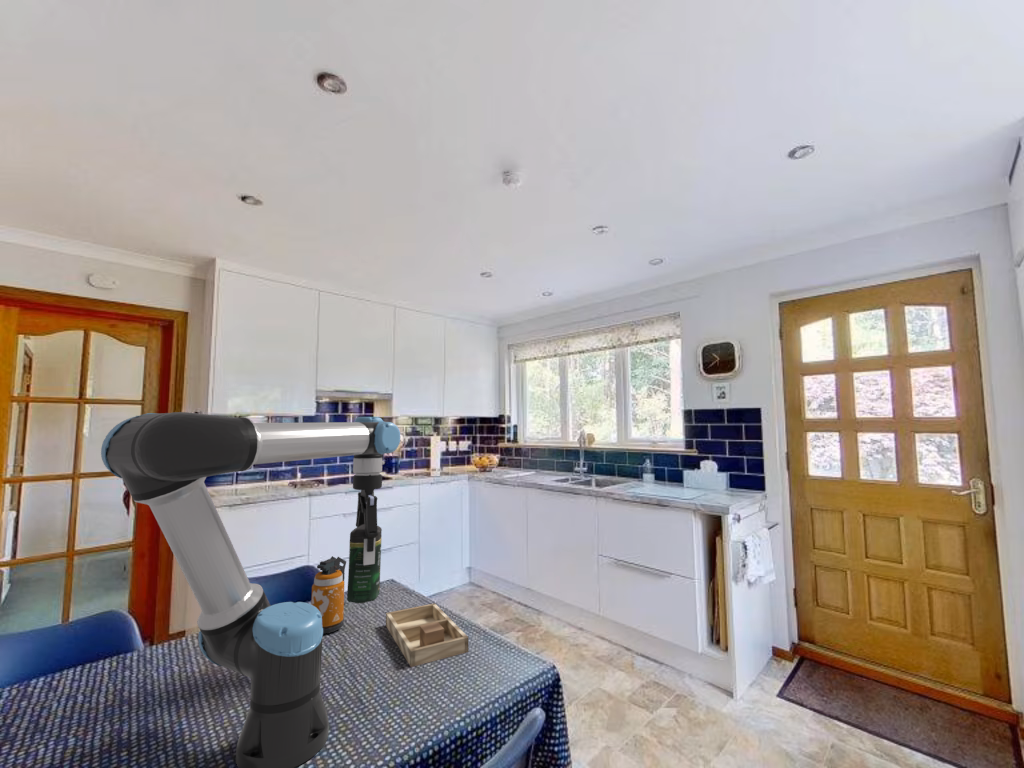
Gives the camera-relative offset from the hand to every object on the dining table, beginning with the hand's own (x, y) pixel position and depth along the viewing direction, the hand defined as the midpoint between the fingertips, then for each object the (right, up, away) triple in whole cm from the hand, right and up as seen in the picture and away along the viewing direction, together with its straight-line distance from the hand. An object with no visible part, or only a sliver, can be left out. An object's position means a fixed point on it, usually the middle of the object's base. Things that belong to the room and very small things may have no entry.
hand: (365, 559), depth 117 cm
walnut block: (+18, -23, -1) cm, 29 cm away
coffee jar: (0, -10, -1) cm, 10 cm away
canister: (-15, -26, +14) cm, 33 cm away
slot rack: (+15, -24, +5) cm, 29 cm away
